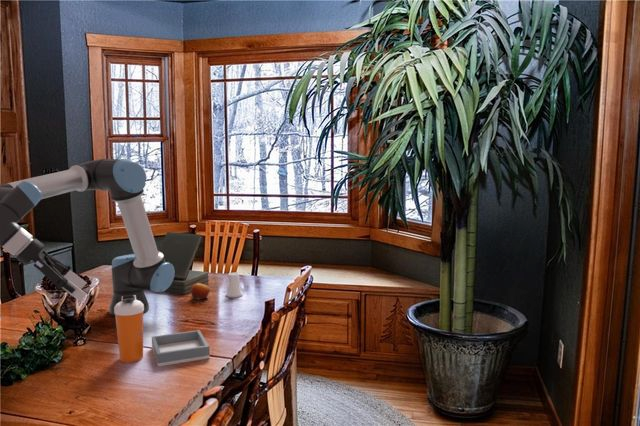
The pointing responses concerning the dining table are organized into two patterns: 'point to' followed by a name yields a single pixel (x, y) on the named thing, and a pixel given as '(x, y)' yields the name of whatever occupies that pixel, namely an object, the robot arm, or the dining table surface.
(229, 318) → the dining table surface
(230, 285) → the white cup
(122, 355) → the shaker bottle
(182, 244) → the grey angled stand
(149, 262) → the robot arm
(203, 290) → the fruit
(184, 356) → the tray
